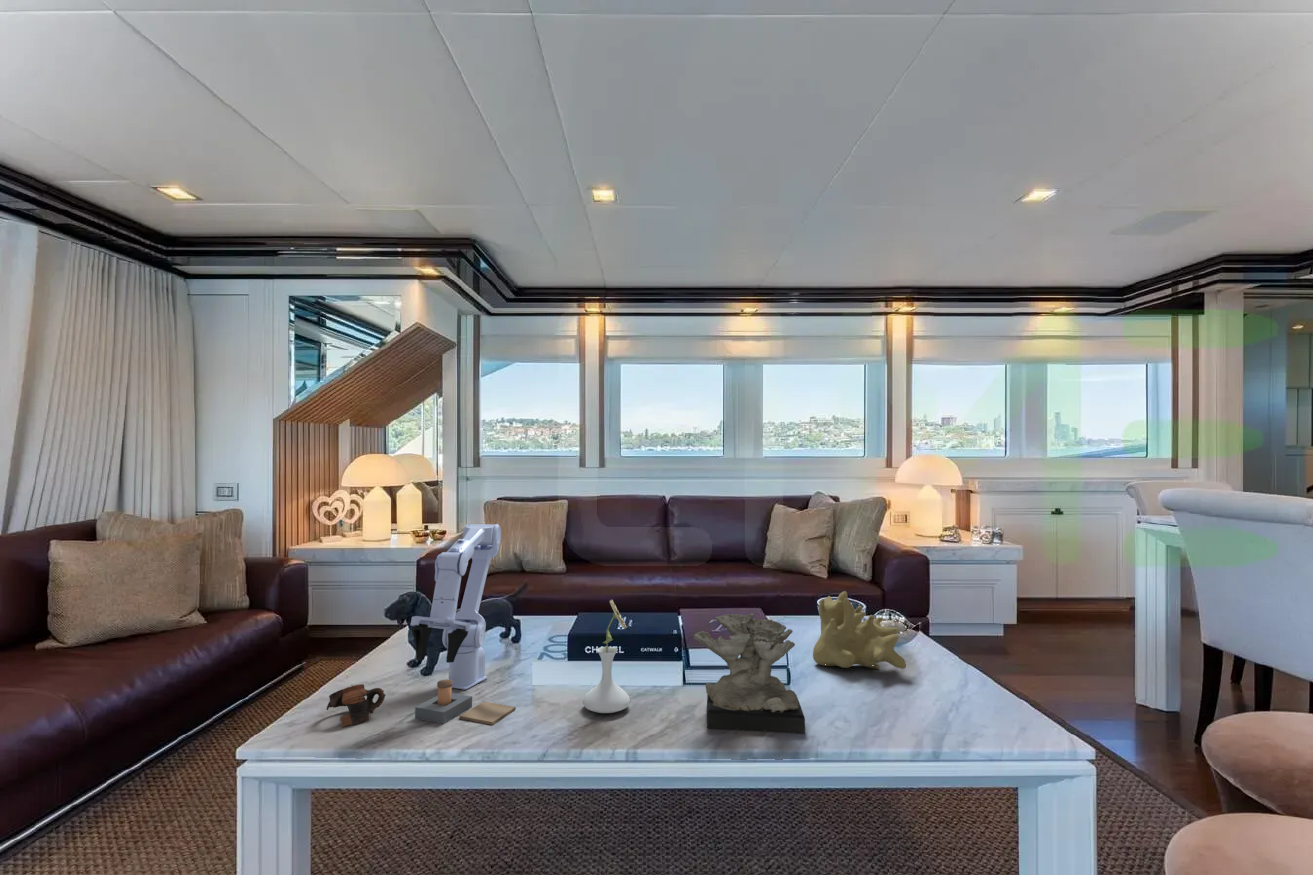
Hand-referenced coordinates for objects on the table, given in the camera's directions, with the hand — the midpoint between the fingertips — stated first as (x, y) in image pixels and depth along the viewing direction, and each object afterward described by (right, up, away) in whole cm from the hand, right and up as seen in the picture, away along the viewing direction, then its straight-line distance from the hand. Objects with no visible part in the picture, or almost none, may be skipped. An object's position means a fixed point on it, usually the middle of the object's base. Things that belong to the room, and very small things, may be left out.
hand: (435, 661), depth 137 cm
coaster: (+12, -12, 0) cm, 17 cm away
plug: (+2, -12, +1) cm, 12 cm away
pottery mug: (-17, -12, -3) cm, 21 cm away
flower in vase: (+40, -13, +5) cm, 42 cm away
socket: (+2, -12, +1) cm, 12 cm away
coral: (+73, -13, +3) cm, 74 cm away
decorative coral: (+110, -16, +36) cm, 117 cm away
